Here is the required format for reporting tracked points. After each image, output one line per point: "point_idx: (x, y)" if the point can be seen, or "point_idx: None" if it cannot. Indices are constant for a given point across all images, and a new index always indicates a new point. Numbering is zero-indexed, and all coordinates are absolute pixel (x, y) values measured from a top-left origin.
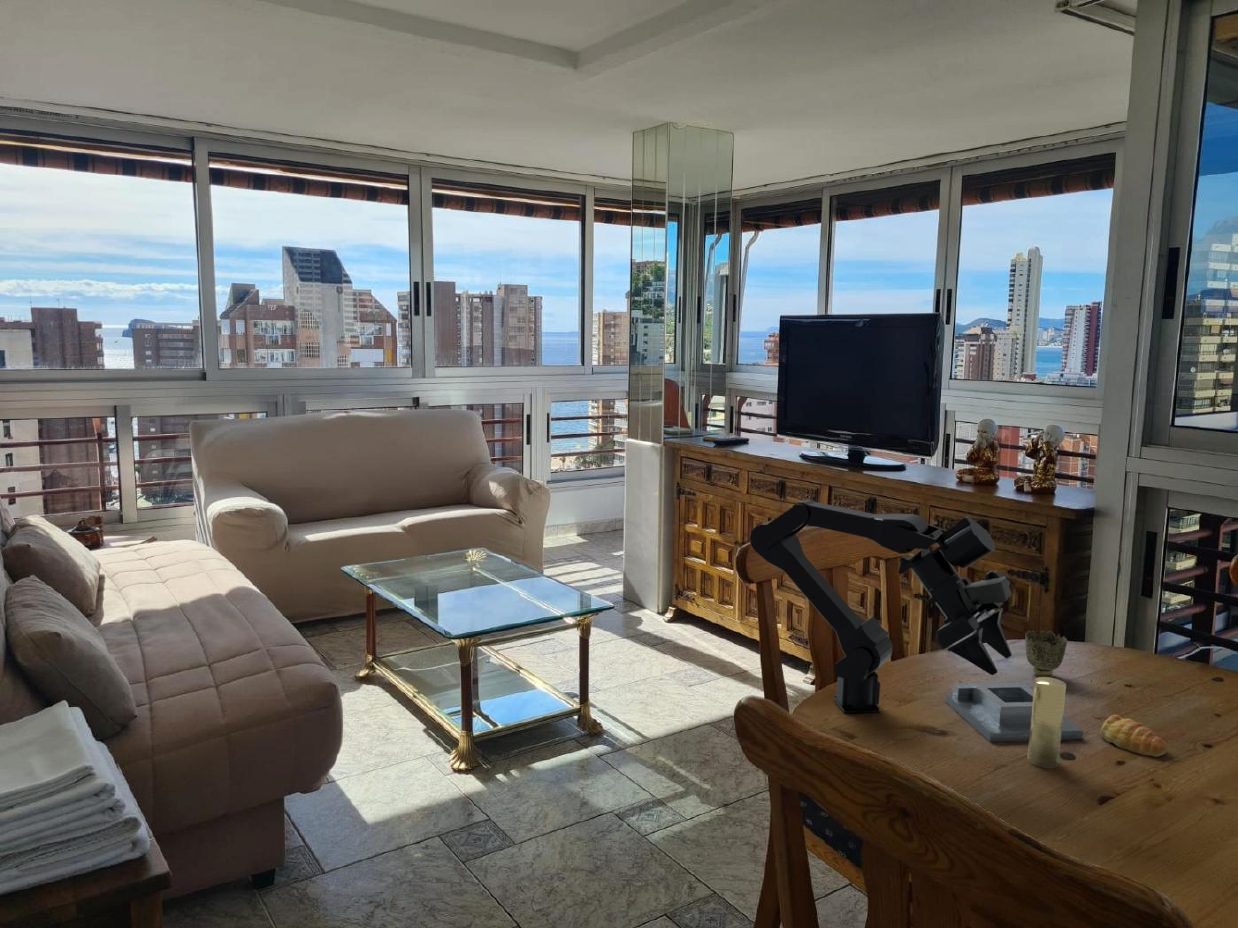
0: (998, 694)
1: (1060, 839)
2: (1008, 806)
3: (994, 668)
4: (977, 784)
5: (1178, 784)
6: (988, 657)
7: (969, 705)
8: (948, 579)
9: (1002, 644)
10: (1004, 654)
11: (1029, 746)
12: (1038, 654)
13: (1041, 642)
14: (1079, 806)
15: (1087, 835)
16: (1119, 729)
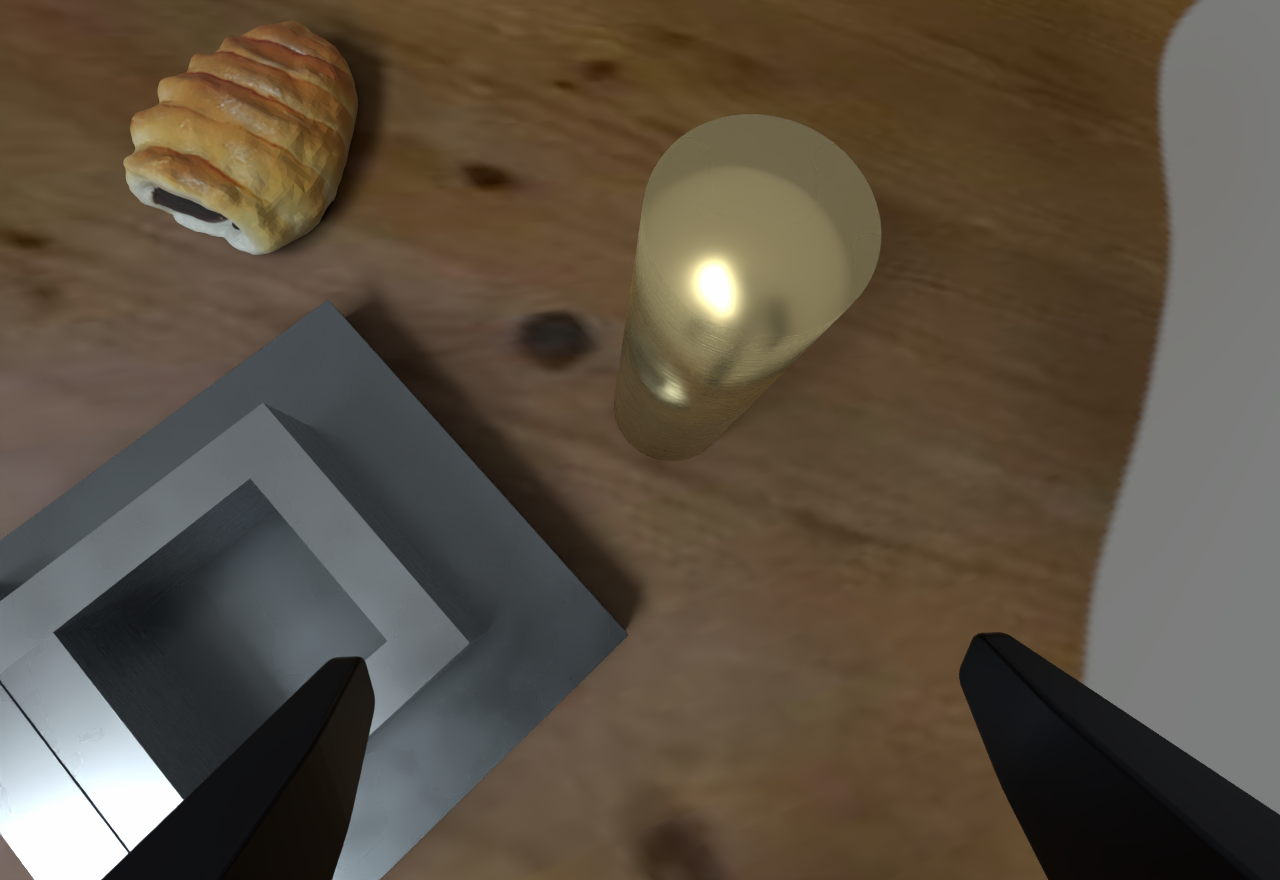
0: (173, 731)
1: (1158, 261)
2: (1092, 428)
3: (1047, 664)
4: (1025, 558)
5: (546, 18)
6: (1217, 777)
7: None
8: None
9: (293, 824)
10: (361, 735)
11: (712, 440)
12: None
13: None
14: (923, 246)
15: (1079, 205)
16: (281, 156)
